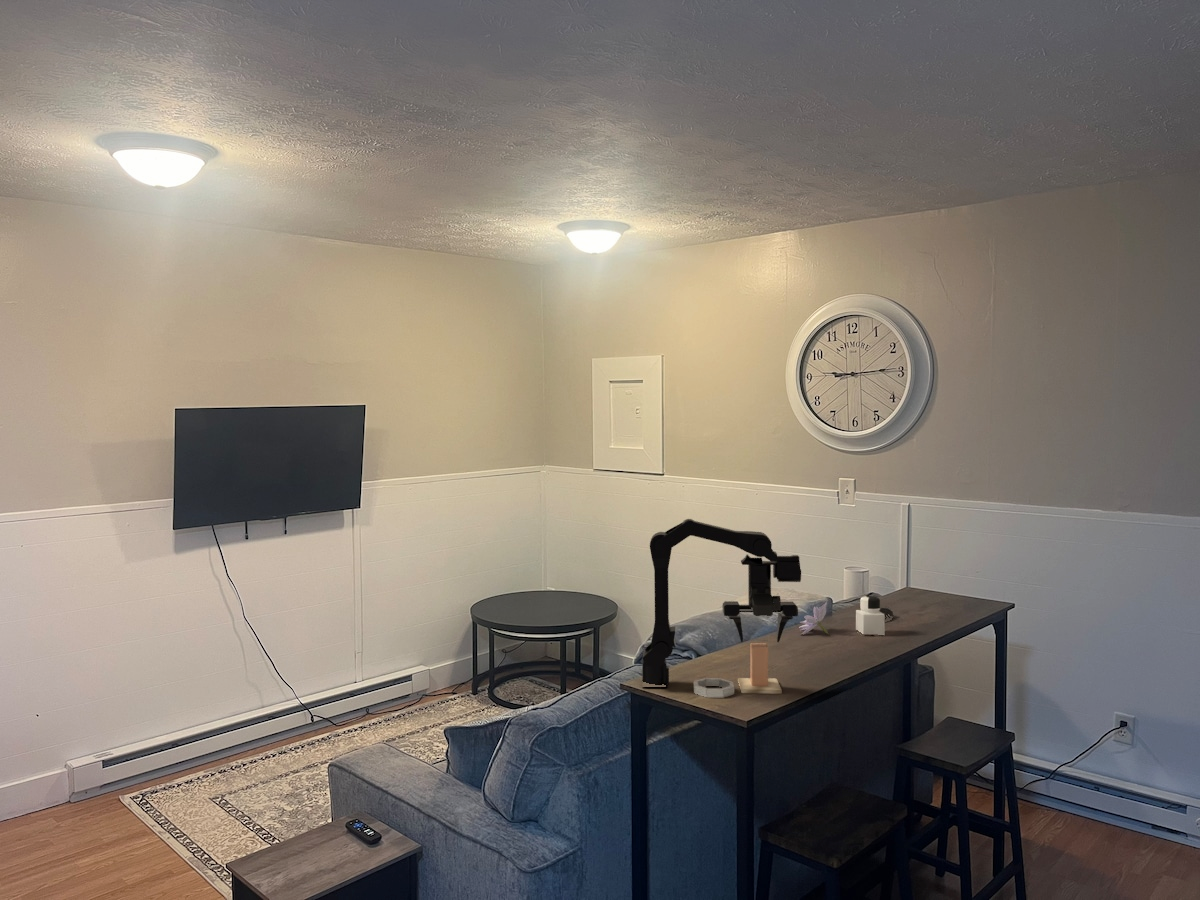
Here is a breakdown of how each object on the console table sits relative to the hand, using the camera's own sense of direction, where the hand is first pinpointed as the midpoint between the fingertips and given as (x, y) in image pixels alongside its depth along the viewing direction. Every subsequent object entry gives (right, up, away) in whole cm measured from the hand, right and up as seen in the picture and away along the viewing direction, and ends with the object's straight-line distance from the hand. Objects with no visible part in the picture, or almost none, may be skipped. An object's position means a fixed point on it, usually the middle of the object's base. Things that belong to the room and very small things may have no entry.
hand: (759, 642), depth 228 cm
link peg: (0, -11, 0) cm, 11 cm away
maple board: (0, -12, 0) cm, 12 cm away
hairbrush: (+53, -10, +75) cm, 93 cm away
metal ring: (-12, -12, -3) cm, 17 cm away
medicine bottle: (+46, -10, +59) cm, 76 cm away
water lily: (+28, -10, +61) cm, 68 cm away
